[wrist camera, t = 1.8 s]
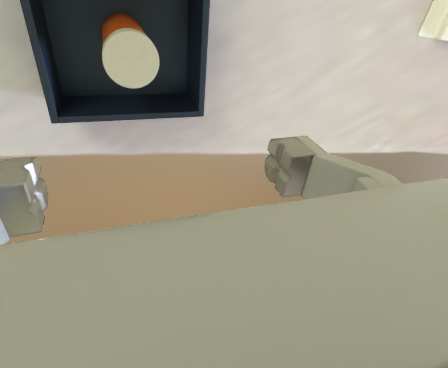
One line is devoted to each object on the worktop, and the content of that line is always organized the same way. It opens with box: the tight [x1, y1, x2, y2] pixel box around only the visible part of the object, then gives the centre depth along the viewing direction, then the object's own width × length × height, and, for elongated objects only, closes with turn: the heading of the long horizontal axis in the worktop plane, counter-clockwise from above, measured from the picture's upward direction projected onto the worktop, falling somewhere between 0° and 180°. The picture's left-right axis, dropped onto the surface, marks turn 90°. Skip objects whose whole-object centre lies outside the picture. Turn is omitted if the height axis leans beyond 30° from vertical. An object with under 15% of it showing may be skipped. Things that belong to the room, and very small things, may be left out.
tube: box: [102, 13, 159, 88], centre depth 26 cm, size 4×4×10 cm
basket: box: [20, 0, 210, 123], centre depth 28 cm, size 14×13×6 cm
